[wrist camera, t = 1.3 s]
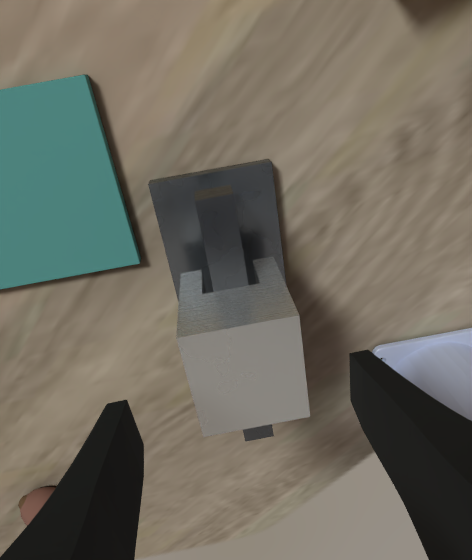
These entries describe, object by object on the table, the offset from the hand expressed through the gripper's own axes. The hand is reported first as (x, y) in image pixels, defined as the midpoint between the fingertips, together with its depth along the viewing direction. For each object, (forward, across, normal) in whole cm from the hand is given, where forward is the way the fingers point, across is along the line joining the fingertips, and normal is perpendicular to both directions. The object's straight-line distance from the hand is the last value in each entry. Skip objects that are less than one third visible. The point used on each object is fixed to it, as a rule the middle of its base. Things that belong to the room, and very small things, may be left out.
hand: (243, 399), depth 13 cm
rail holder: (+11, -1, +2) cm, 11 cm away
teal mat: (+11, +8, -5) cm, 15 cm away
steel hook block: (+8, 0, +2) cm, 8 cm away
